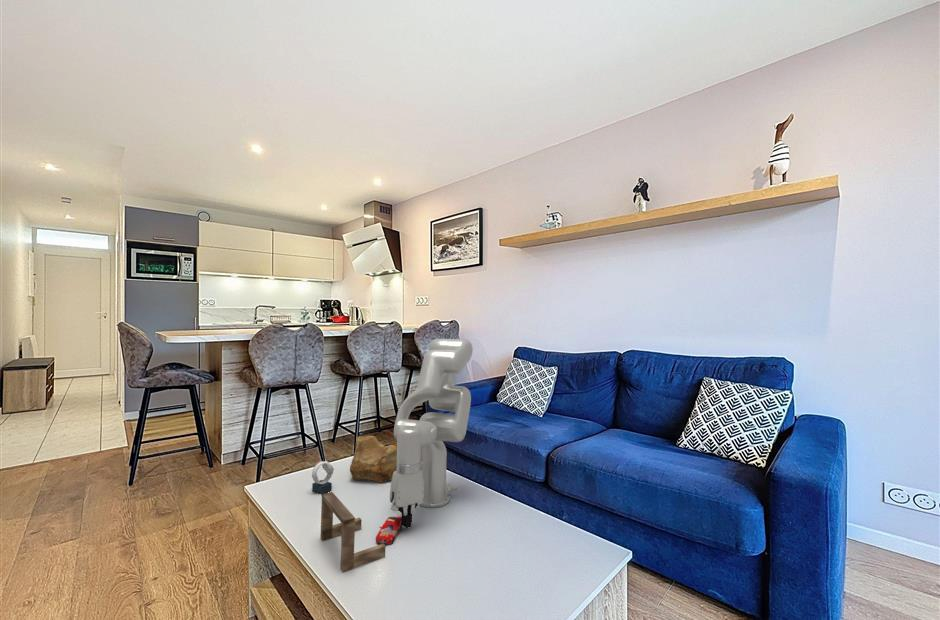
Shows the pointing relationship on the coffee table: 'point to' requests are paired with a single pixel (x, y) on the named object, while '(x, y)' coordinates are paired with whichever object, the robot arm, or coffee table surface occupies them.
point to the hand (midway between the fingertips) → (406, 525)
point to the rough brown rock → (373, 460)
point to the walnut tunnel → (345, 533)
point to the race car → (389, 530)
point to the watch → (322, 485)
